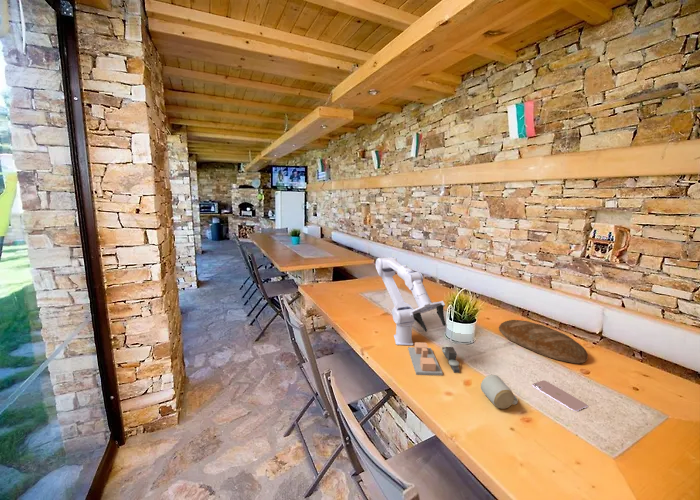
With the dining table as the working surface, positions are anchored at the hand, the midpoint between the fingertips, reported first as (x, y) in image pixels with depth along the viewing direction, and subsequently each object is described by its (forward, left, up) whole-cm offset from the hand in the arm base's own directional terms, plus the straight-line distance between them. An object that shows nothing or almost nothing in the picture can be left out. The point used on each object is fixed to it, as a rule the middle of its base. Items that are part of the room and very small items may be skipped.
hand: (435, 327), depth 115 cm
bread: (-22, +54, -17) cm, 61 cm away
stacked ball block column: (-5, +8, -17) cm, 19 cm away
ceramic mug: (+19, +18, -17) cm, 31 cm away
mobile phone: (+15, +39, -17) cm, 46 cm away
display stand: (-4, -3, -17) cm, 17 cm away
